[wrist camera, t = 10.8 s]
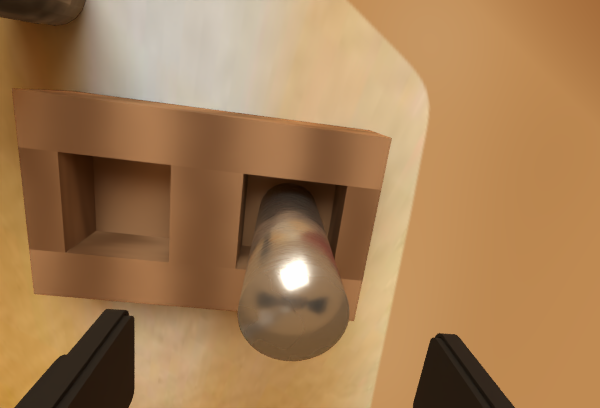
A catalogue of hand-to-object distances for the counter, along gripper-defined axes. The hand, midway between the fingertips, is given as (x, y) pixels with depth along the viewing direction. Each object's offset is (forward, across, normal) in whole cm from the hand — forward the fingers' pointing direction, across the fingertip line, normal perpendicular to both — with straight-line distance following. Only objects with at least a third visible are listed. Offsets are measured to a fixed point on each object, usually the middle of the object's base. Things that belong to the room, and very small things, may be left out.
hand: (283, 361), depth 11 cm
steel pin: (+14, 0, -1) cm, 14 cm away
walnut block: (+15, +4, -1) cm, 16 cm away
